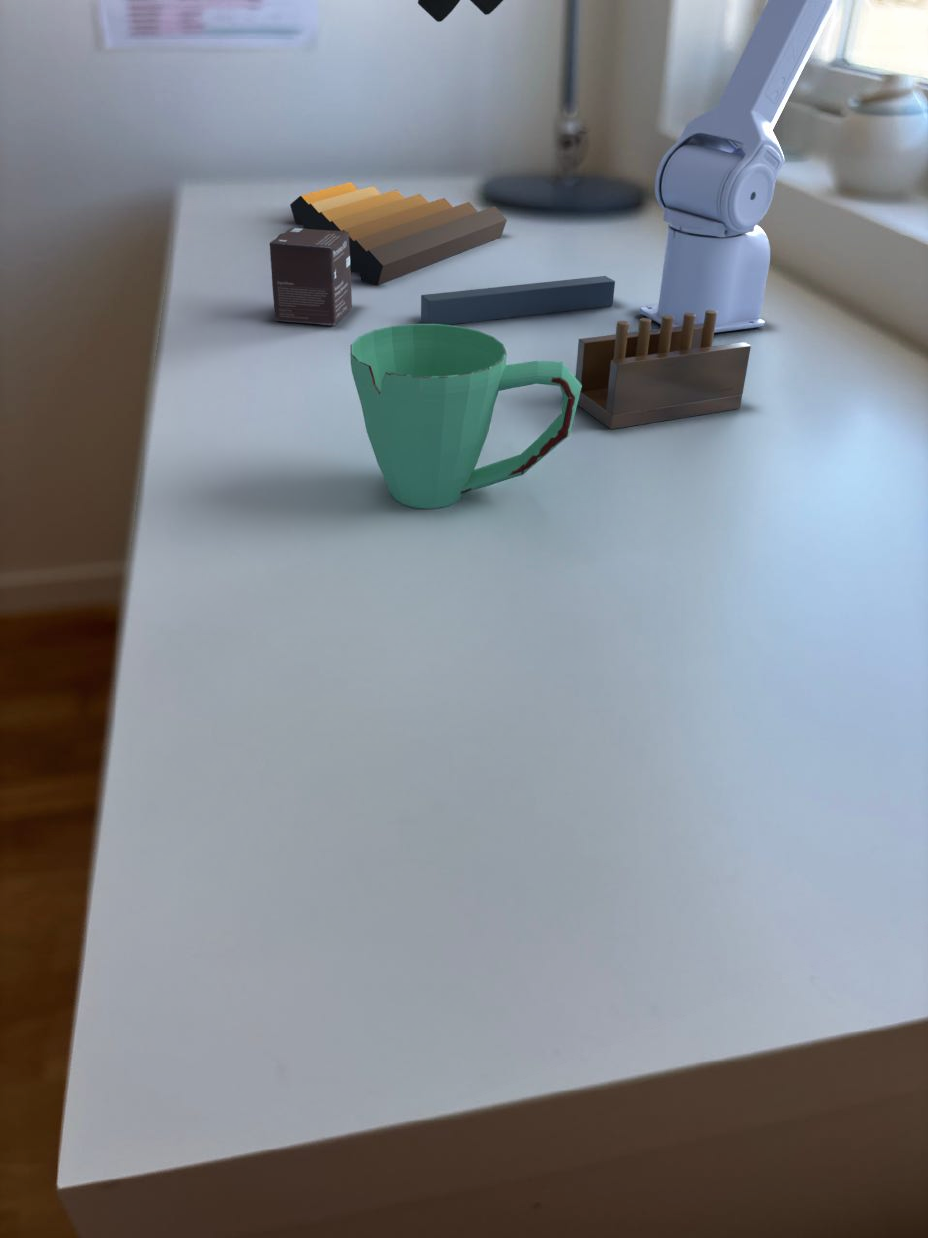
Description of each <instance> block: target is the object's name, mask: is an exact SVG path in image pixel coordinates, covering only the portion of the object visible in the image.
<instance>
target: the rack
mask: <svg viewBox="0 0 928 1238" xmlns="http://www.w3.org/2000/svg"><path fill="white" fill-rule="evenodd" d="M716 317H717V311H714V310H707V311H706V312H705V318H704V323H701V324H694V323H695V314H693V313H685V314H684V317H683V325H682V326H677V327H673V320H674V317H673V316H670V315H664V316H662V321H661V324H660V328H655V329H651V328H652V319H650V318H648V317H642V318H640V319H639V321H638V331H631V332H630V331H629V326H630V323H629V322H628V321H625V320H619V321H617V322H616V328H615V333H613V334H608V335H599V336H591V337H584V338H578V345H577V355H576V365H575V376H574V377H575V378H576V379H577V380H578V381H579V383H580V384H581V385H582V388H581V392H580V396H579V400H578V404H577V406H578V407H580V408H582V409H583V410H584V411H585V412H587V413H588V414H589V415H591V416H592V417H594V418H595V419H596V420H598V421H599V422H600V423H602V424H603V425H604V426H606V427H607V428H609V429H610V430H615V429H621V428H626V427H627V428H628V427H634V426H639V425H640V426H641V425H646V424H652V423H658V422H664V421H670V420H676V419H682V418H689V417H696V416H701V415H709V414H715V413H720V412H726V411H733V410H738V409H739V410H740V409H741V404H742V398H743V394H744V390H745V389H744V388H745V383H746V377H747V372H748V366H749V359H750V354H751V349H752V346H751V344H748V343H747V342H744V341H739V342H733V343H726V344H718V345H713V342H714V336H715V335H714V334H715V333H714V330H715V323H716Z"/></svg>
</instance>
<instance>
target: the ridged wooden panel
mask: <svg viewBox="0 0 928 1238" xmlns="http://www.w3.org/2000/svg"><path fill="white" fill-rule="evenodd" d="M289 206H290V210H291V213H292V216H293V220H294V223H295V224H298V225H302V227H303V229H314V230H329V231H344V232H349V247H350V270H351V272H355V273H358V276H359V279H360V282H362V283H367V284H371V285H376V286H379V285H381V284H384V283H388V282H389V281H392V280H395V279H398V278H400V277H403V276H405V275H407V274H410V273H412V272H415V271H418V270H420V269H422V268H426V267H427V266H428V267H429V266H430V265H433V264H435V263H438V262H441V261H443V260H445V259H448V258H452V257H453V256H456V255H459V254H461V253H464V252H466V251H470V250H471V249H474V248H476V247H479V246H482V245H484V244H487V243H489V242H492V241H494V240H497V239H500V238H502V235H503V233H504V230H505V227H506V224H507V221H508V219H507V218H506V217H505V216H504V215H503V213H501V211H500V210H499V209H498V208H497V207H496V206H495V205H494V206H492V207H488V208H485V209H481V210H480V211H478V209H476V208H475V207H474V206H473V204H472V203H471V202H470V201H467V202H465V203H461V204H459V205H455V206H453V205H452V204H451V203H450V202H449V201H448V200H447V199H446V198H445V197H442V198H439V199H436V200H433V201H430V202H429V201H428V200H427V199H426V198H425V197H424V196H423V195H422V194H421V193H418V194H415V195H411V196H408V197H404V196H403V195H402V194H401V192H399V190H398V189H394V190H391V191H386V192H384V193H381V192H380V191H379V190H378V189H377V187H376V186H374V185H372V186H368V187H367V186H366V187H365V188H360V189H358V188H357V186H356V185H355V184H354V183H353V182H352V181H349V182H346V183H342V184H338V185H335V186H330V187H328V188H324V189H320V190H316V191H313V192H308V193H305V194H301V195H300V196H298V197H297V198H296V199H295V200H294V201H292V202H291V203H290V204H289Z"/></svg>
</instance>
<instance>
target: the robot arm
mask: <svg viewBox="0 0 928 1238" xmlns="http://www.w3.org/2000/svg"><path fill="white" fill-rule="evenodd" d="M460 1H461V0H417V4H418V5H419V7H421V8H422V9H423V10H424V11H425V12H426V13H427V14H428V15H430V17H431V18H432V19H434V20H435V21H436V22H437V23H440V22H443V21H444V20H445V19H446V18H447V17H448V16H449V15H450V14H451V13H452V12H453V11H454V9H455V8H456V7H457V5H458V4H459V3H460ZM469 1H470V2H471V3H472V4H473V5H474V6H475V7H476V8H477V9H479V11H480V12H481V13H482V14H484V15H485V16H487V15H490V14H491V13H492V12H494V11H495V10H496V9H497V8H498V6H500V5H501V4H502V3H503V1H504V0H469ZM837 2H838V0H767V1H766V4H765V6H764V8H763V10H762V12H761V15H760V16H759V18H758V21H757V23H756V24H755V27H754V29H753V31H752V32H751V35H750V37H749V39H748V41H747V43H746V45H745V47H744V49H743V52H742V53H741V55H740V57H739V59H738V61H737V64H736V66H735V67H734V70H733V71H732V74H731V75H730V78H729V81H728V82H727V84H726V86H725V88H724V90H723V92H722V95H721V96H720V99H719V101H718V103H717V104H716V105H715V106H714V107H712V108H711V109H709V110H707V111H705V112H704V113H701V114H699V115H698V116H697V117H695V118H693V119H691V120H690V121H689V122H687V124H686V125H685V127H684V129H683V131H682V133H681V134H680V137H679V138H678V139H677V141H676V142H675V143H674V144H673V145H672V146H671V147H670V148H669V149H668V150H667V151H666V152H665V153H664V155H663V157H662V158H661V159H660V162H659V164H658V166H657V168H656V169H657V170H656V174H655V179H654V196H655V198H656V199H655V200H656V201H657V203H658V205H659V207H660V208H661V209H662V210H663V211H664V212H663V222H666V223H668V226H667V227H668V228H667V233H666V242H665V248H664V249H665V250H664V257H663V265H662V273H661V283H660V290H659V297H658V298H659V299H658V305H653V306H651V305H650V306H642V307H639V313H640V314H641V315H643V316H645V318H648V319H651V321H654V322H656V323H657V324H659V325H661V321H662V316H664V315H670V316H673V317H674V320H673V327H677V326H682V325H683V317H684V314H685V313H693V314H695V323H694V324H701V323H704V318H705V312H706V311H707V310H714V311H717V317H716V323H715V330H714V334H715V333H716V334H717V333H724V332H732V331H738V330H748V329H754V328H762V327H764V326H765V324H766V322H765V320H764V319H761V316H762V309H763V304H764V303H763V302H764V297H765V291H766V285H767V281H768V280H767V279H768V275H769V274H768V273H769V268H770V264H771V263H770V262H771V246H770V242H769V239H768V236H767V234H766V233H765V231H764V230H763V229H762V227H760V226H759V225H758V224H759V223H760V222H761V221H762V220H763V219H764V217H765V216H766V214H767V212H768V210H769V209H770V207H771V204H772V201H773V199H774V194H775V193H774V192H775V188H776V187H775V186H776V181H777V179H778V176H779V174H780V172H781V170H782V168H783V165H784V164H785V162H786V160H785V156H784V154H783V153H784V152H783V150H782V148H781V145H780V143H779V141H778V139H777V136H776V135H775V133H774V131H773V130H774V128H775V126H776V124H777V121H778V120H779V118H780V116H781V114H782V112H783V110H784V108H785V106H786V104H787V102H788V100H789V97H790V96H791V94H792V92H793V90H794V88H795V86H796V84H797V81H798V80H799V78H800V76H801V74H802V72H803V70H804V68H805V65H806V64H807V62H808V60H809V58H810V56H811V54H812V52H813V50H814V48H815V46H816V44H817V42H818V40H819V37H820V36H821V34H822V32H823V30H824V28H825V26H826V24H827V22H828V20H829V18H830V16H831V14H832V13H833V10H834V8H835V6H836V4H837Z"/></svg>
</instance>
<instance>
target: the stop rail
mask: <svg viewBox="0 0 928 1238" xmlns="http://www.w3.org/2000/svg"><path fill="white" fill-rule="evenodd" d="M615 287H616V281H615V280H614V279H612V278H610V277H608V276H607V275H600V276H599V275H598V276H590V277H582V278H581V277H580V278H571V279H562V280H553V281H542V282H534V283H523V284H514V285H504V286H496V287H495V286H493V287H486V288H476V289H467V290H455V291H447V292H439V293H438V292H436V293H428V294H421V295H420V322H421V323H422V324H442V325H458V324H459V325H460V324H466V323H475V322H476V323H477V322H483V321H491V320H502V319H509V318H510V319H511V318H519V317H526V316H536V315H537V316H538V315H545V314H553V313H562V312H569V311H579V310H580V311H581V310H588V309H595V308H604V307H613V305H614V297H615Z"/></svg>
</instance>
